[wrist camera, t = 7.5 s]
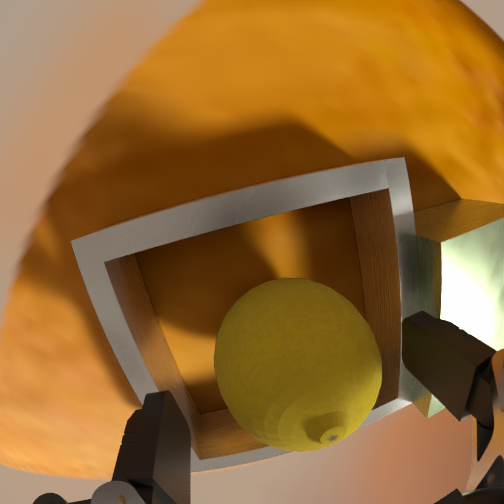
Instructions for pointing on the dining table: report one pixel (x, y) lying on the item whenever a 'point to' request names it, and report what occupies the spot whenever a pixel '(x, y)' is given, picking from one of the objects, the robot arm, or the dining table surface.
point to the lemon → (297, 364)
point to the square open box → (372, 271)
